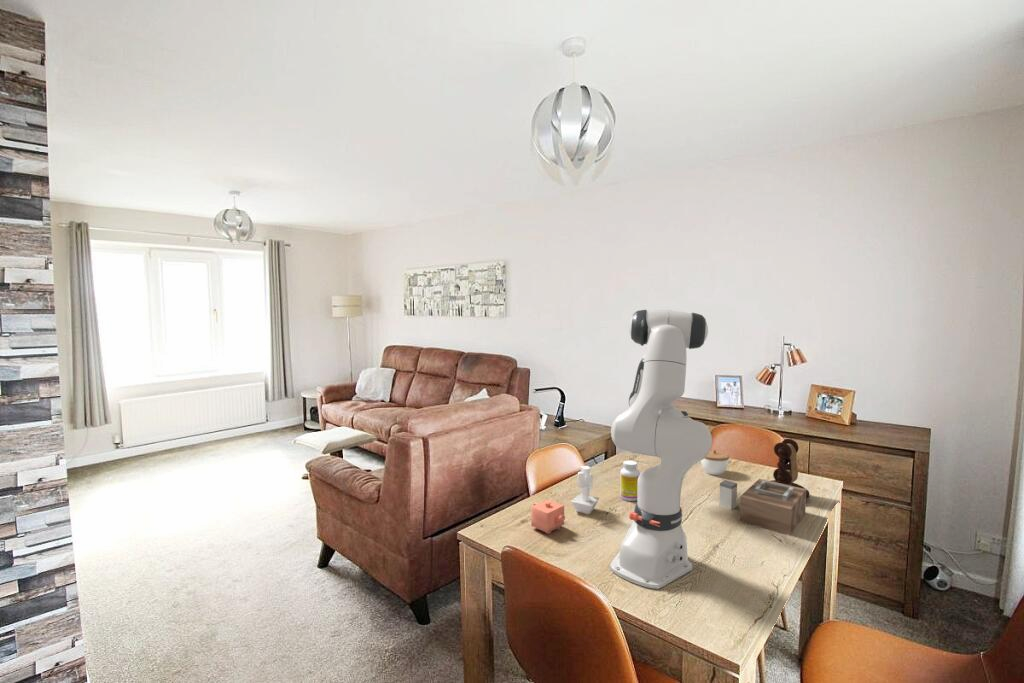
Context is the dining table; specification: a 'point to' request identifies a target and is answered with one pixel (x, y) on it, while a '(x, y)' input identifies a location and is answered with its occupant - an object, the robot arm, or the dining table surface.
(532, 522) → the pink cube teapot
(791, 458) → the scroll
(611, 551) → the dining table surface
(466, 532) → the dining table surface
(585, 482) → the figurine
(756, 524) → the block
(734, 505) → the grey white rectangular block
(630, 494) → the supplement bottle
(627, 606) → the dining table surface
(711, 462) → the lidded jar
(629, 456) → the dining table surface
